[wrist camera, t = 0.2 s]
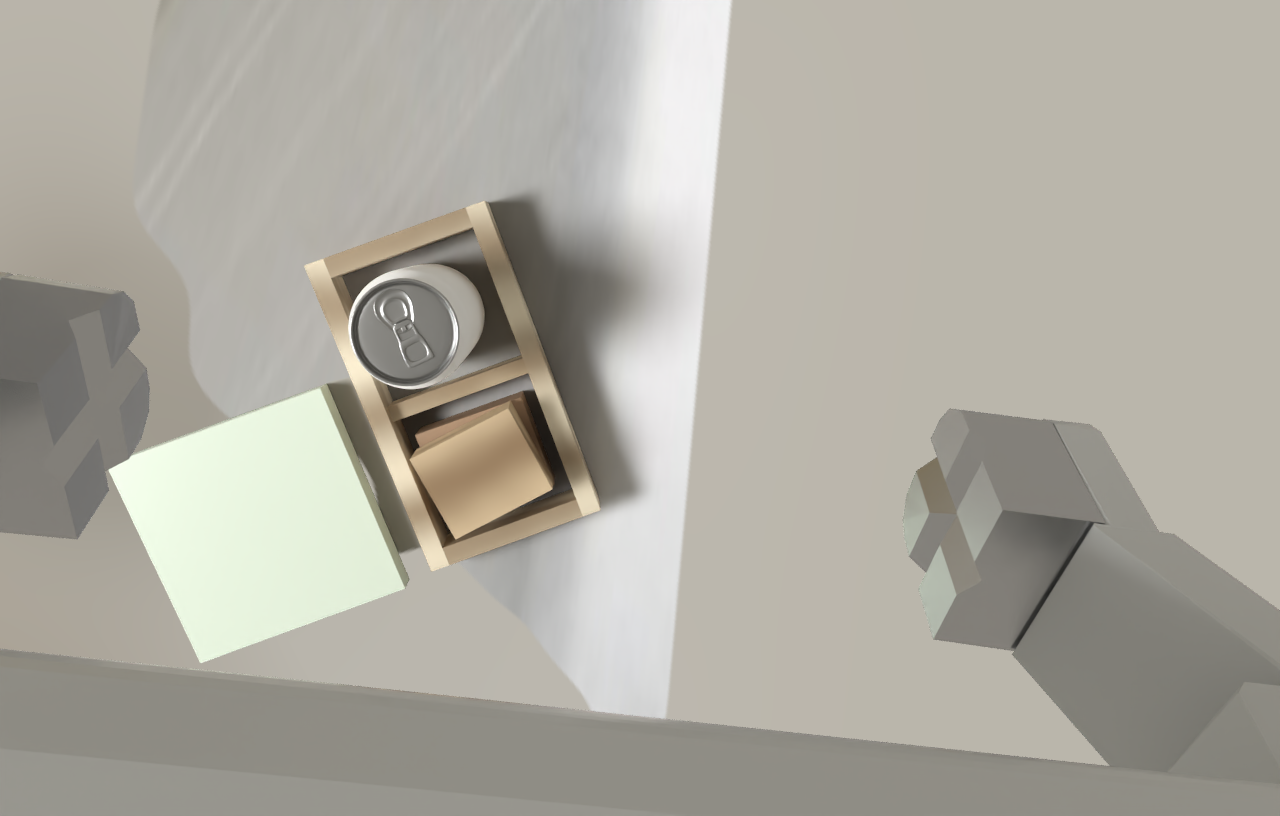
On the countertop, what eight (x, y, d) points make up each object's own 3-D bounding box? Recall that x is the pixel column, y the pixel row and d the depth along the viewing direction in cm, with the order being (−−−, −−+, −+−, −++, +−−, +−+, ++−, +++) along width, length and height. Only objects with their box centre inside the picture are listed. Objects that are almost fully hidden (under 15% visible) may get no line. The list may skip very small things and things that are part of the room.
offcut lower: (554, 474, 66) (554, 485, 63) (455, 509, 66) (450, 522, 63) (523, 390, 64) (521, 397, 62) (421, 426, 64) (415, 435, 61)
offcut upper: (552, 477, 63) (552, 489, 60) (460, 525, 63) (455, 539, 60) (510, 400, 61) (508, 408, 59) (416, 449, 62) (409, 459, 59)
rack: (598, 497, 66) (600, 509, 63) (437, 556, 66) (431, 571, 63) (488, 202, 62) (484, 200, 59) (316, 264, 62) (303, 265, 59)
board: (409, 579, 66) (405, 588, 64) (210, 651, 65) (200, 663, 64) (326, 383, 63) (320, 388, 61) (119, 458, 63) (106, 465, 61)
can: (456, 245, 62) (432, 248, 50) (503, 338, 63) (489, 362, 52) (364, 290, 62) (317, 303, 50) (412, 381, 63) (377, 415, 52)
